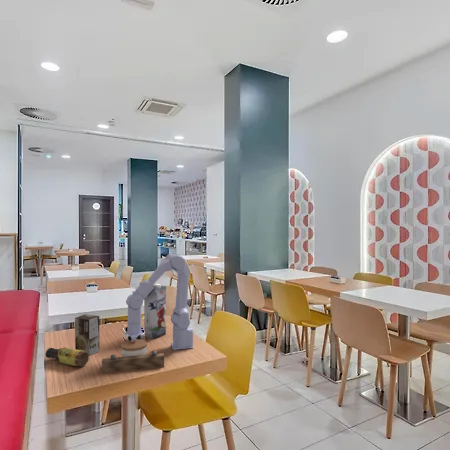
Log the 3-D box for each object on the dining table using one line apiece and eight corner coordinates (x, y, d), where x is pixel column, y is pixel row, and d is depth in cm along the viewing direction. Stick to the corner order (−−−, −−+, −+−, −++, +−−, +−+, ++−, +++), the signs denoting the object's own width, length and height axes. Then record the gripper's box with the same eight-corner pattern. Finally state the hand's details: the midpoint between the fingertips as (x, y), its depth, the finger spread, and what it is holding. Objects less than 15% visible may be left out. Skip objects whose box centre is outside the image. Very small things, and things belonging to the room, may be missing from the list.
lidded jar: (115, 365, 139) (115, 343, 139) (129, 355, 149) (129, 334, 149) (139, 368, 136) (139, 345, 136) (151, 358, 147) (151, 336, 146)
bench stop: (163, 363, 141) (163, 349, 141) (164, 366, 138) (164, 352, 138) (103, 369, 135) (102, 354, 135) (102, 373, 132) (102, 357, 132)
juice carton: (141, 336, 174) (141, 284, 174) (156, 331, 183) (155, 281, 183) (154, 340, 169) (154, 286, 169) (168, 334, 178) (168, 283, 178)
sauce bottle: (77, 356, 134) (40, 350, 141) (79, 370, 135) (42, 364, 142) (89, 347, 140) (53, 342, 147) (91, 361, 141) (55, 355, 148)
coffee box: (100, 350, 155) (100, 315, 155) (89, 355, 149) (89, 319, 149) (85, 347, 159) (85, 313, 159) (74, 352, 153) (74, 317, 153)
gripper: (125, 317, 155) (125, 347, 155) (124, 327, 141) (124, 359, 141) (141, 316, 157) (141, 345, 157) (141, 326, 143) (141, 358, 143)
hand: (134, 352), depth 149 cm, fingers closed
